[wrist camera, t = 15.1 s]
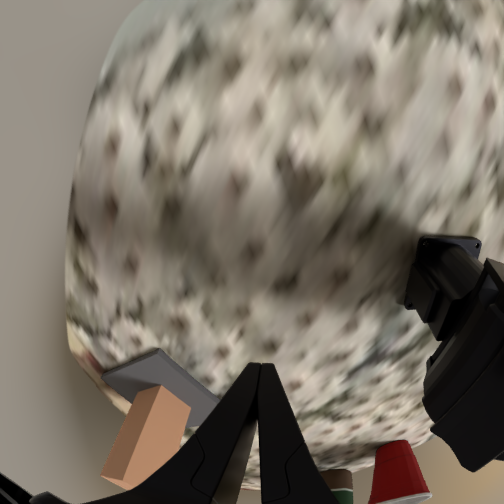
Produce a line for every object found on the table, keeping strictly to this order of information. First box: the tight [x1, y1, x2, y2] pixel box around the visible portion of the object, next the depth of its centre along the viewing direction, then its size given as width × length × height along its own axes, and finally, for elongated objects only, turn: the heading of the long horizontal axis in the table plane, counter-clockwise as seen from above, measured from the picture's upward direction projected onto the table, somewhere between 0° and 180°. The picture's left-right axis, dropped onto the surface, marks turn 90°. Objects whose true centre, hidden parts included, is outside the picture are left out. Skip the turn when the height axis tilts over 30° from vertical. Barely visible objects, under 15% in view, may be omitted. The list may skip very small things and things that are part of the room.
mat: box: [101, 349, 220, 428], centre depth 30 cm, size 13×13×1 cm
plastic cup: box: [368, 440, 432, 504], centre depth 28 cm, size 11×11×12 cm
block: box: [100, 385, 191, 490], centre depth 24 cm, size 5×5×13 cm
